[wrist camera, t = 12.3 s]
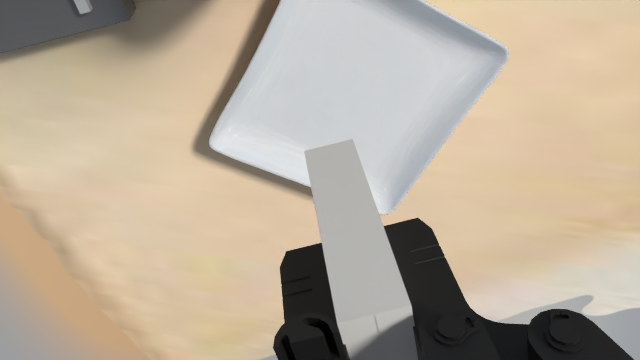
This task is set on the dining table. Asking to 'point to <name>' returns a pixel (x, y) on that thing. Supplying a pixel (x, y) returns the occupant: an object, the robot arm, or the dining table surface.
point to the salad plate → (357, 89)
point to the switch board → (56, 19)
